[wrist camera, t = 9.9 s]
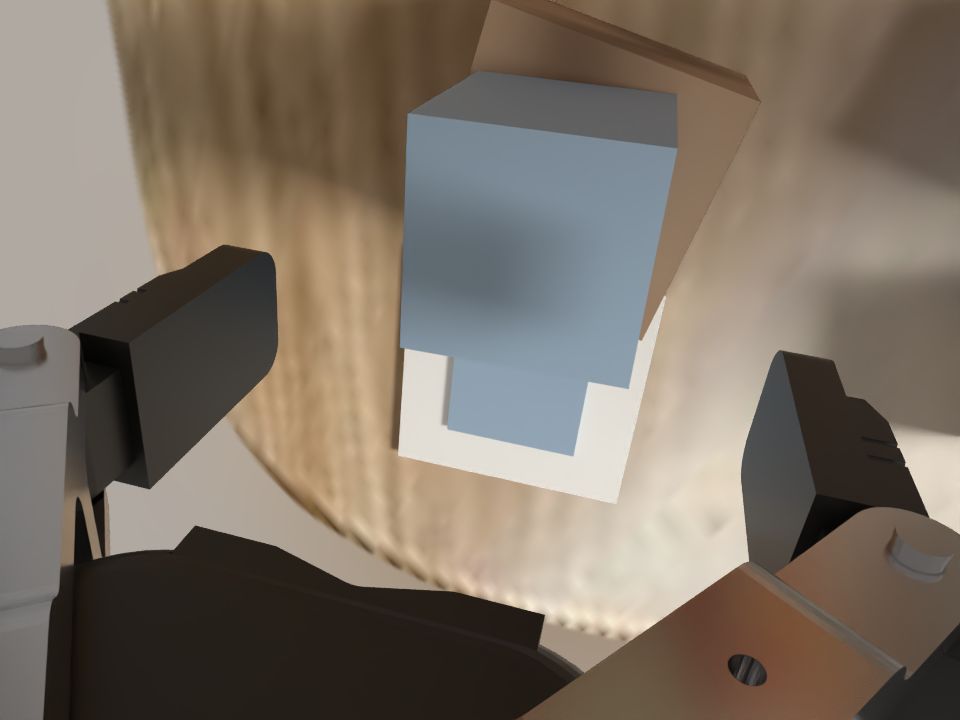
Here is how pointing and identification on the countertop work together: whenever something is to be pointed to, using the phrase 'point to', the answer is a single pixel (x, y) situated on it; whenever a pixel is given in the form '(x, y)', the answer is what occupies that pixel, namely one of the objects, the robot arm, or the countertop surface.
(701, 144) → the walnut base
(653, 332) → the card
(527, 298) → the slate block
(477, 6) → the countertop surface
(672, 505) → the countertop surface
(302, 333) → the countertop surface
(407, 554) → the countertop surface
